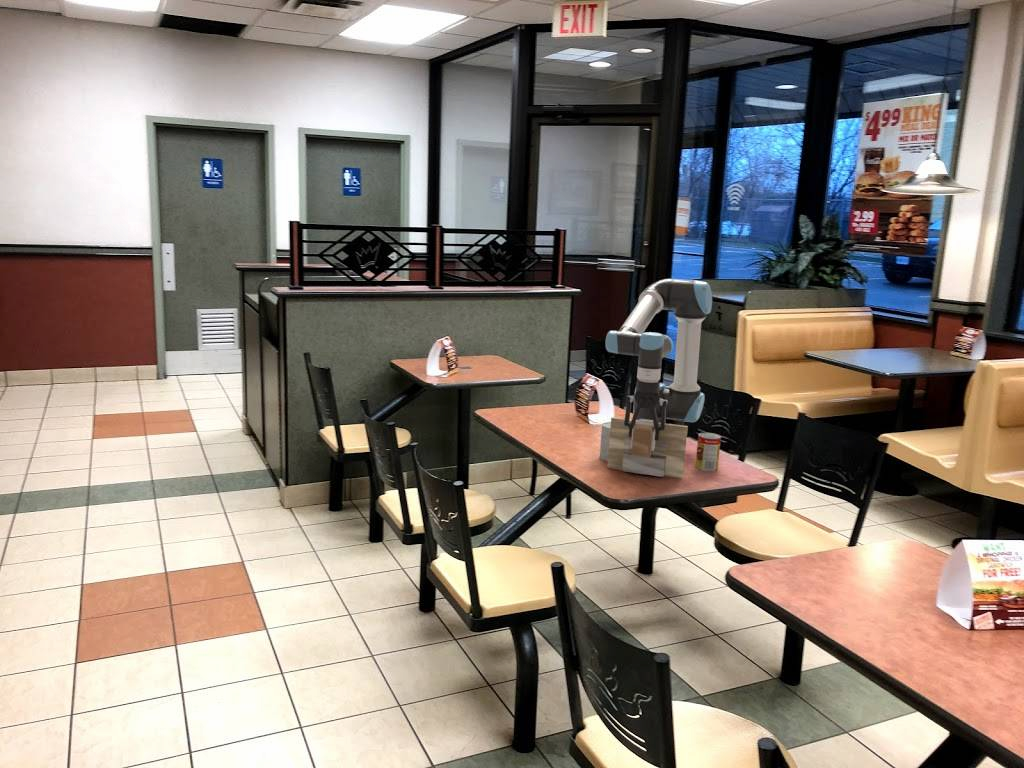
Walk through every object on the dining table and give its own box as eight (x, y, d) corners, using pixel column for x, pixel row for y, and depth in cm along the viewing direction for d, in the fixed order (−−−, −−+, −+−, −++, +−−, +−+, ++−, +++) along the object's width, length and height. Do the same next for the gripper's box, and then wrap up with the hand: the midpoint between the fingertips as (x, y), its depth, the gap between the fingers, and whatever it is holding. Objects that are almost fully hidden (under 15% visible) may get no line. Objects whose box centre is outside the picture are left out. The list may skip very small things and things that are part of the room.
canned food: (712, 464, 301) (715, 432, 299) (721, 471, 294) (724, 438, 291) (691, 464, 300) (694, 432, 297) (700, 471, 292) (703, 438, 290)
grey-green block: (624, 463, 297) (627, 430, 295) (598, 460, 299) (600, 427, 297) (626, 456, 307) (629, 423, 304) (600, 453, 308) (602, 421, 306)
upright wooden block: (637, 446, 285) (639, 418, 283) (654, 448, 283) (657, 420, 281) (630, 456, 273) (633, 427, 271) (648, 458, 271) (651, 429, 269)
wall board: (608, 466, 292) (612, 417, 289) (683, 477, 285) (687, 426, 281) (604, 471, 286) (608, 420, 283) (680, 482, 279) (685, 430, 275)
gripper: (617, 379, 271) (612, 447, 275) (676, 385, 265) (670, 454, 270) (621, 375, 278) (616, 441, 282) (679, 381, 272) (673, 449, 277)
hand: (642, 448), depth 276 cm, fingers closed on upright wooden block, 6 cm apart
